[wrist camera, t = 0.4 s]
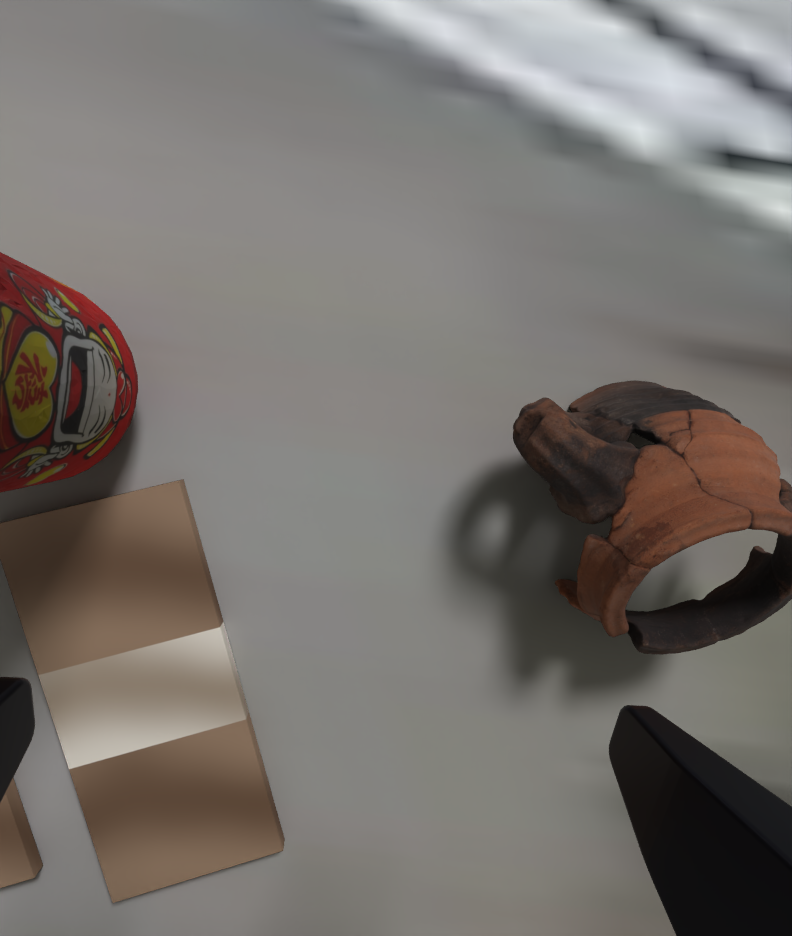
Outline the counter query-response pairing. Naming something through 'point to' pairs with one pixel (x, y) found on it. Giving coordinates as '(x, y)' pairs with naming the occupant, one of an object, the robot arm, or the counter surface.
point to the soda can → (57, 379)
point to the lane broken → (16, 841)
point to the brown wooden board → (142, 687)
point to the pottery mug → (661, 506)
